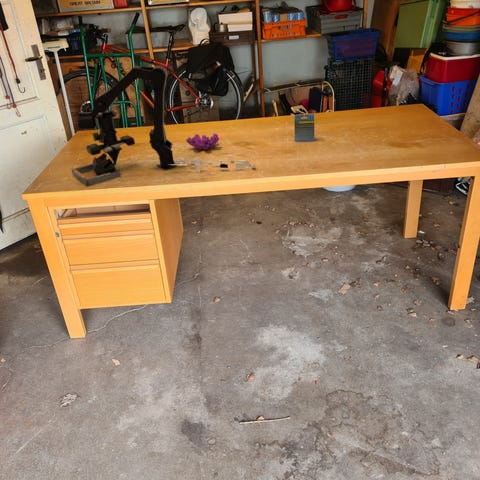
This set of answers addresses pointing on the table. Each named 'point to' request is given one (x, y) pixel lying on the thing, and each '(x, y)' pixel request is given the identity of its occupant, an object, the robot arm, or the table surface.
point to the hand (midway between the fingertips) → (115, 164)
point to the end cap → (103, 165)
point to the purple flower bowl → (203, 141)
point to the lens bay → (97, 179)
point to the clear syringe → (198, 163)
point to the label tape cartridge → (304, 128)
